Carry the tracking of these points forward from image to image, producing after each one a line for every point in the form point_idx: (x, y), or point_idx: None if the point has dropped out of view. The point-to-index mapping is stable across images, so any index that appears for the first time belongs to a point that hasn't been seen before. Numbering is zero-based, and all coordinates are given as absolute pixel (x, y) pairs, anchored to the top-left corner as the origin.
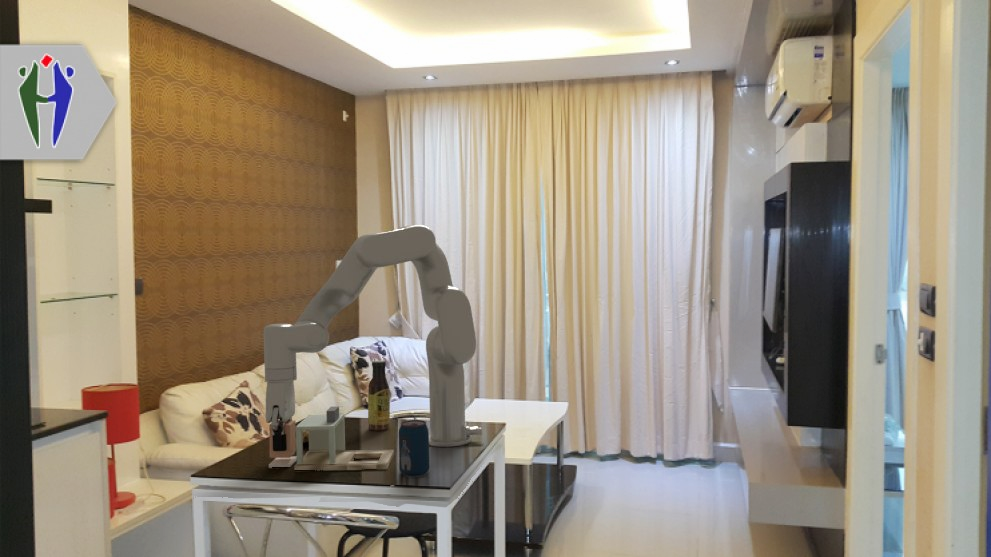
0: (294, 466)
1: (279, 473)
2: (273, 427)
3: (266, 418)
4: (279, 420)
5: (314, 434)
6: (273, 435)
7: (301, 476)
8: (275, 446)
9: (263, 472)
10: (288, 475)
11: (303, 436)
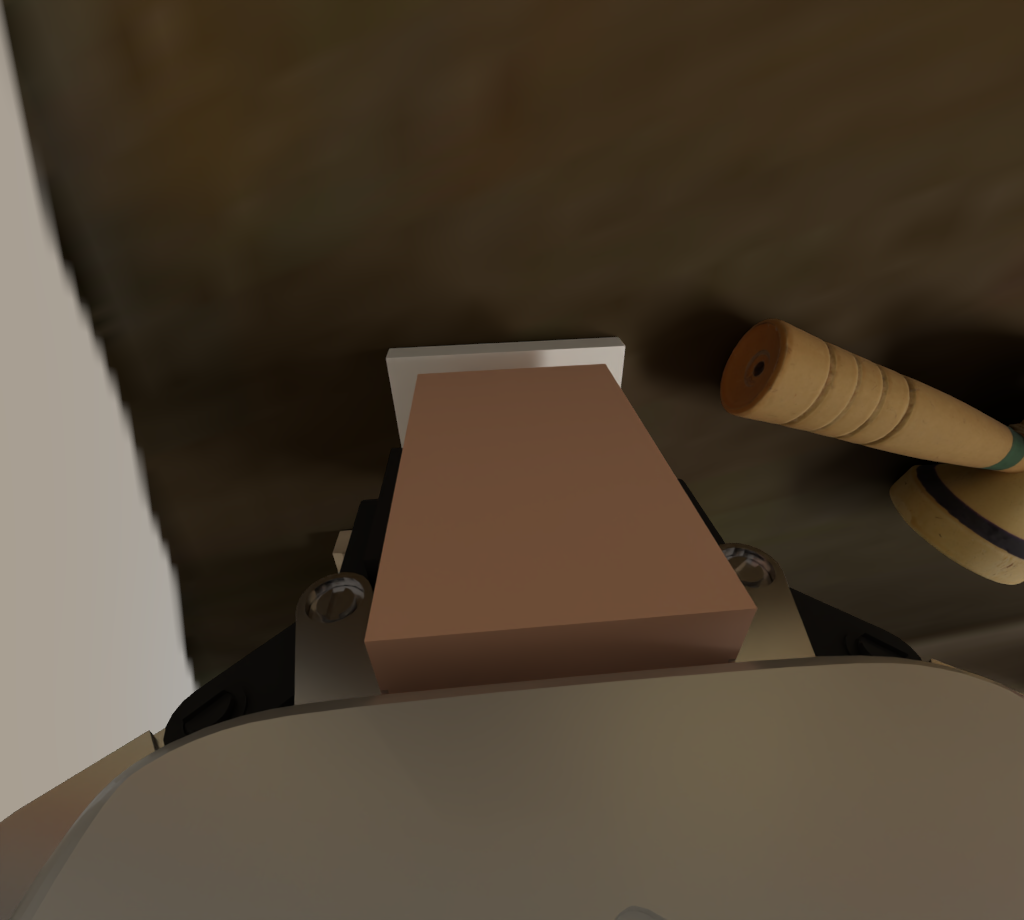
0: (334, 551)
1: (272, 464)
2: (88, 788)
3: (23, 897)
4: (721, 660)
5: None
6: (365, 565)
7: (247, 589)
8: (359, 506)
9: (267, 347)
10: (245, 526)
11: (991, 466)
